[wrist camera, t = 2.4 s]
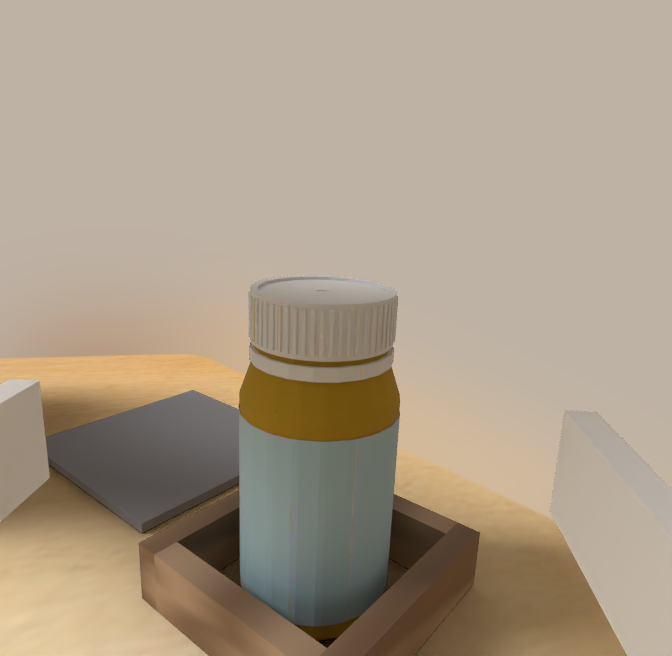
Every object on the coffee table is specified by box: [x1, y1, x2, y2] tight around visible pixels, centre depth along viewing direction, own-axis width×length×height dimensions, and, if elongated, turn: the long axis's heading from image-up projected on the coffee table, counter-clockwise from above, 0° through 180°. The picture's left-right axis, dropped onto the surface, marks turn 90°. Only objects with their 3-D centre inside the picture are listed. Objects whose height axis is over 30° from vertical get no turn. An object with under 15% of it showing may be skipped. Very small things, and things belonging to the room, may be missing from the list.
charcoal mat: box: [46, 390, 239, 533], centre depth 40 cm, size 14×14×1 cm
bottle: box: [239, 276, 400, 641], centre depth 25 cm, size 7×7×15 cm
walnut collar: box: [139, 491, 480, 656], centre depth 27 cm, size 11×11×3 cm
